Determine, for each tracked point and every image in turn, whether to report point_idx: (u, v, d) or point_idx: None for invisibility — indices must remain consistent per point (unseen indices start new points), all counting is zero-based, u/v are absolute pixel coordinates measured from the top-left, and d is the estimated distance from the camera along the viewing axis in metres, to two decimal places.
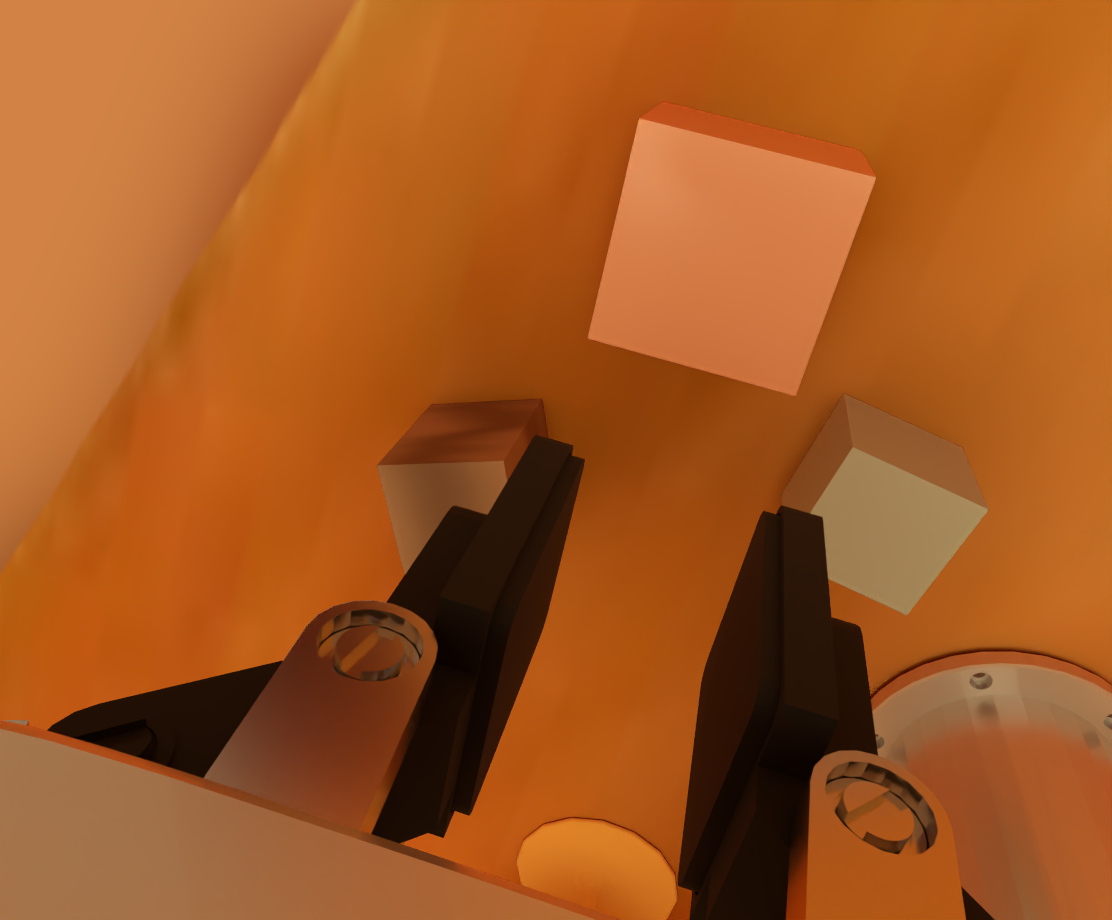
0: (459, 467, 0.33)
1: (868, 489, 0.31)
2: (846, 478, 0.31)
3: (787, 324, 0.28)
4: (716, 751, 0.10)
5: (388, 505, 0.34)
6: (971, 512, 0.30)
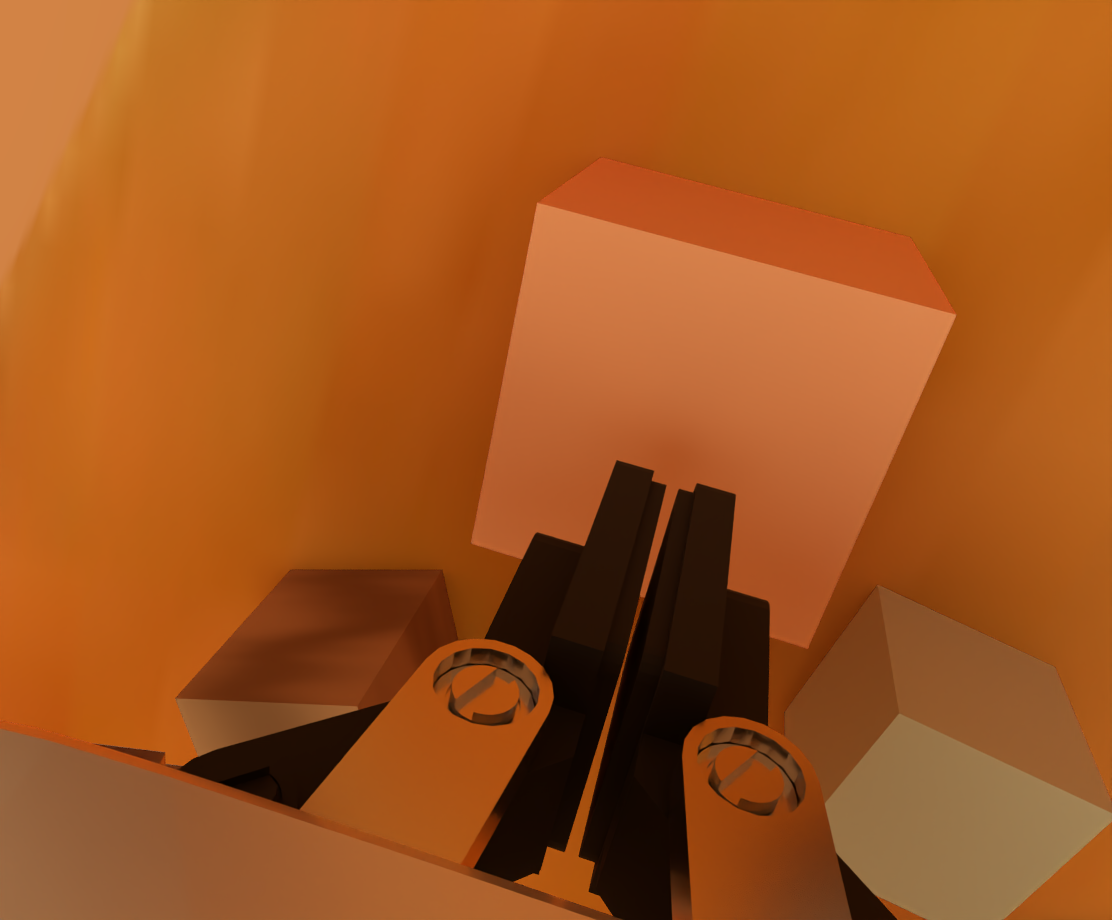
0: (294, 709, 0.21)
1: (922, 774, 0.19)
2: (887, 755, 0.19)
3: (794, 542, 0.16)
4: (616, 723, 0.10)
5: (198, 751, 0.23)
6: (1088, 818, 0.19)
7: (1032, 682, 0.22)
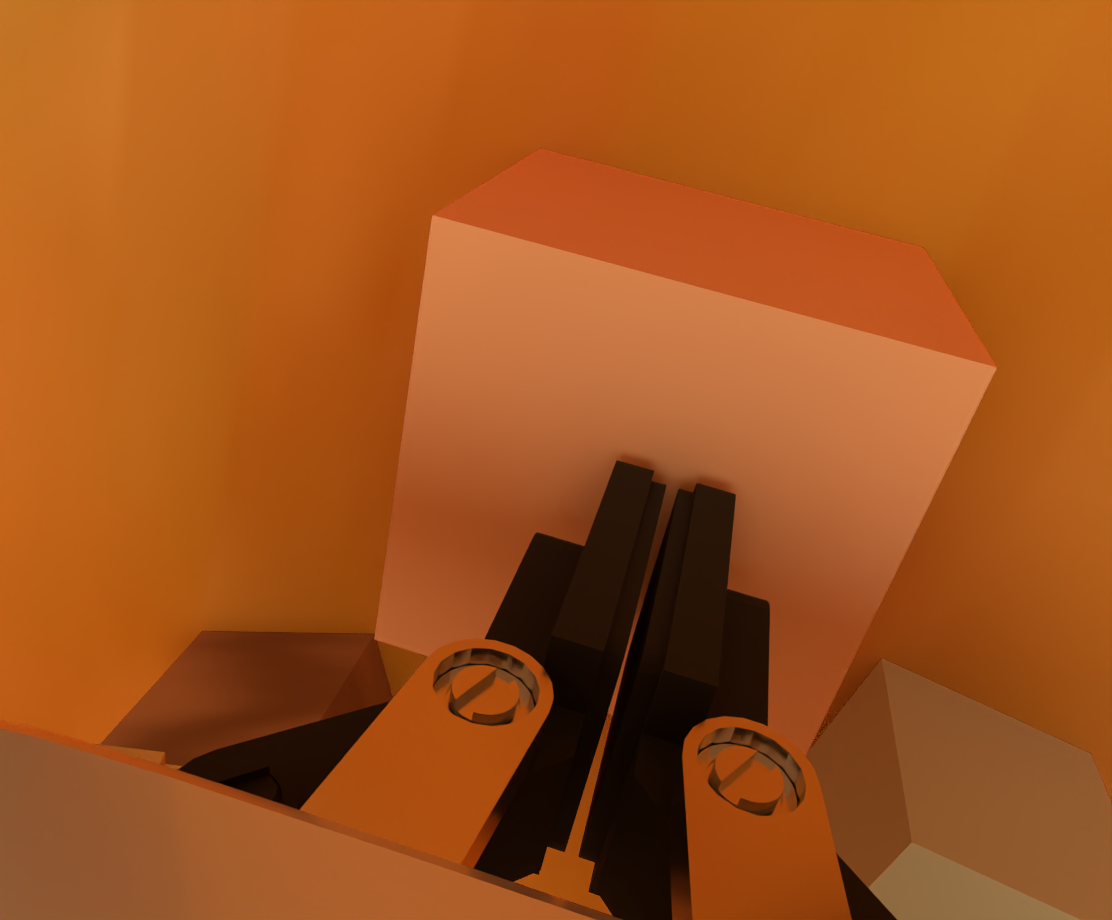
0: None
1: (939, 910, 0.16)
2: (896, 888, 0.16)
3: (780, 647, 0.13)
4: (616, 723, 0.10)
5: None
6: None
7: (1066, 778, 0.18)
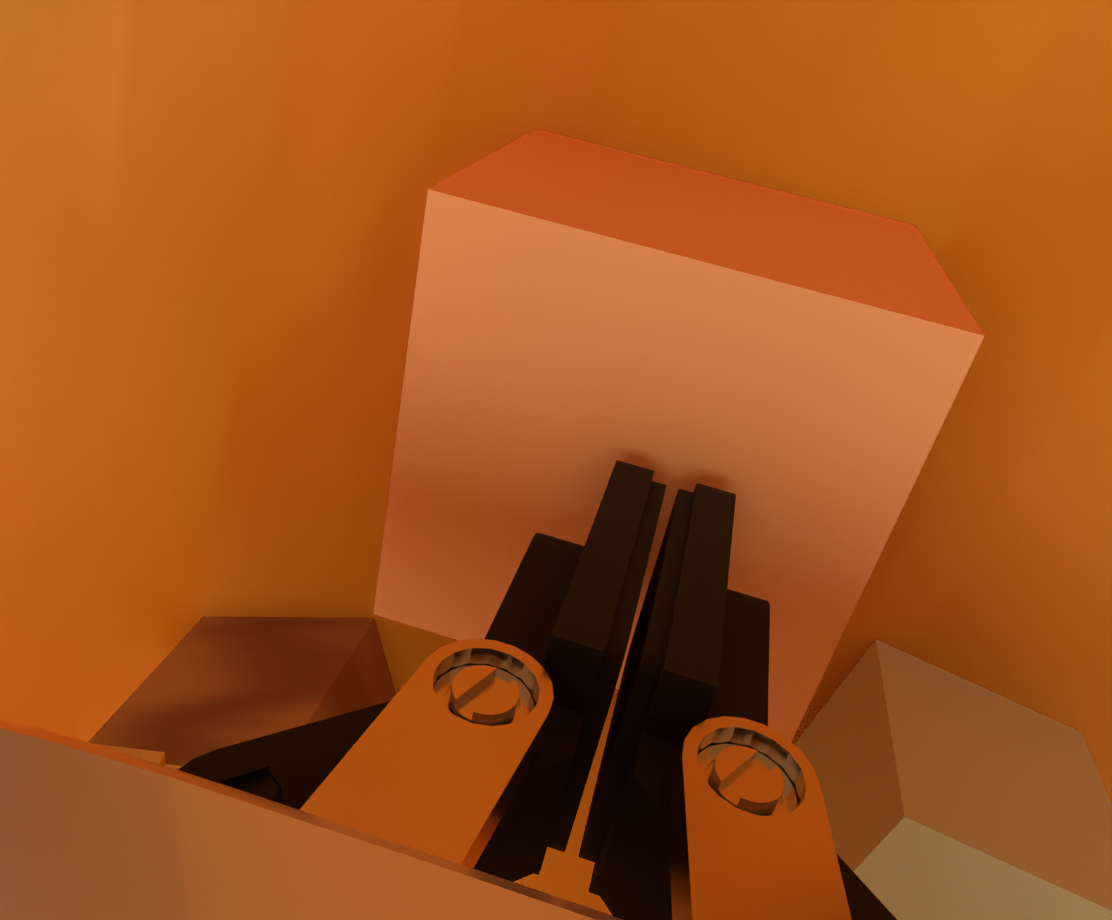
0: None
1: (931, 884, 0.16)
2: (889, 862, 0.16)
3: (773, 617, 0.13)
4: (616, 723, 0.10)
5: None
6: None
7: (1057, 756, 0.19)
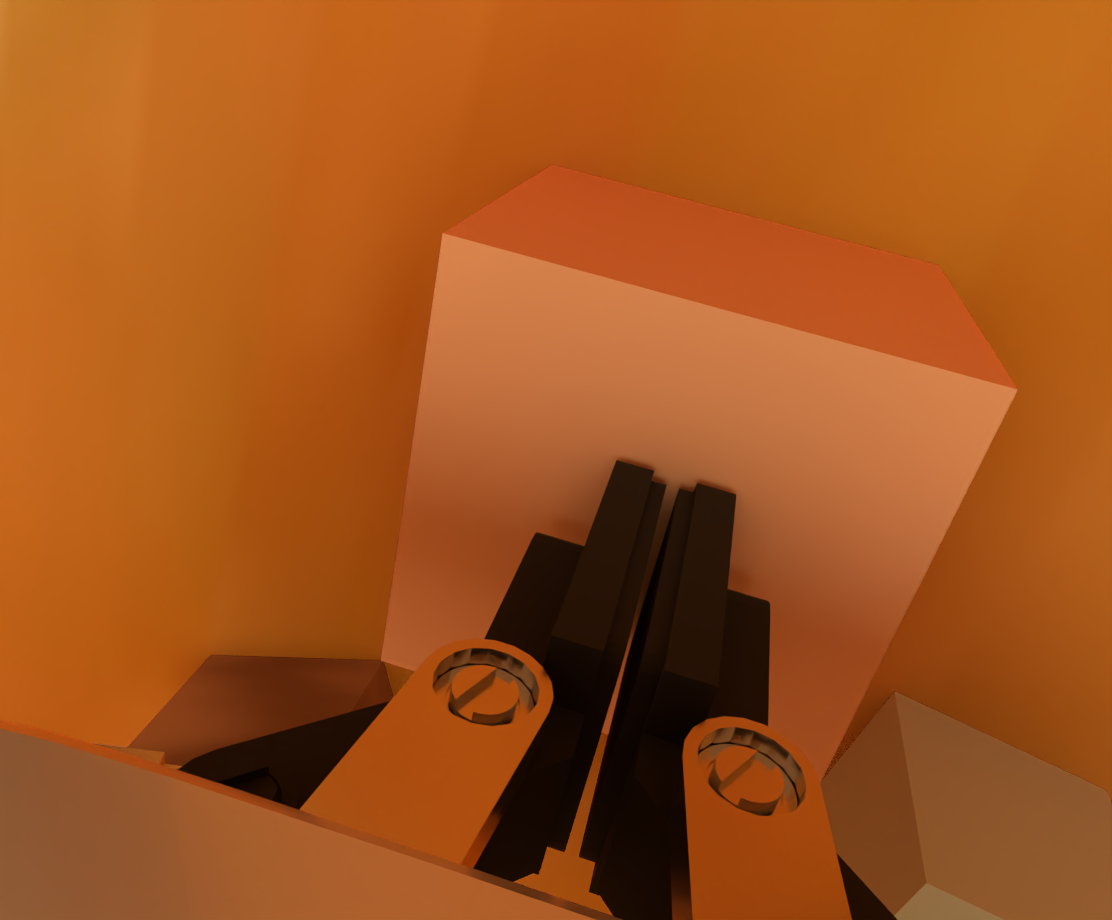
0: None
1: None
2: None
3: (793, 673, 0.13)
4: (616, 723, 0.10)
5: None
6: None
7: (1082, 815, 0.18)
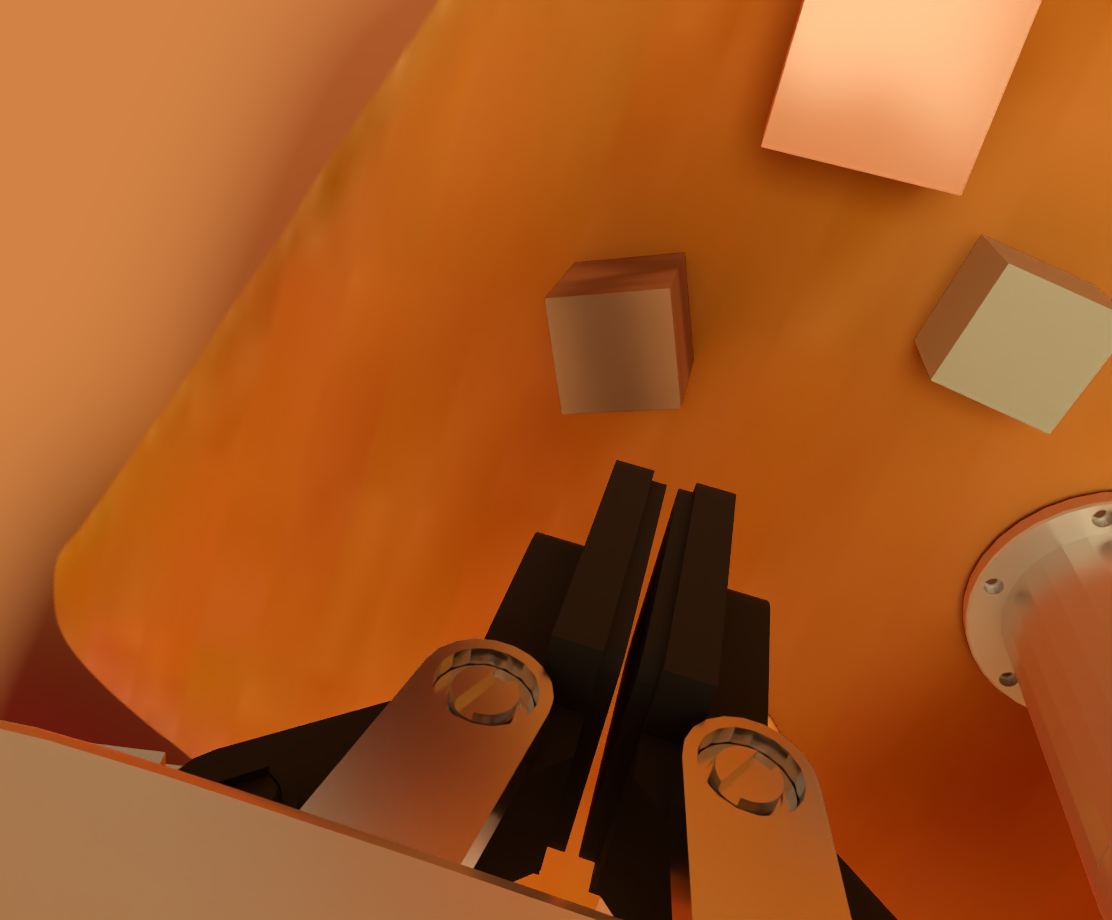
0: (626, 296, 0.35)
1: (1020, 306, 0.33)
2: (999, 295, 0.33)
3: (958, 121, 0.29)
4: (616, 723, 0.10)
5: (552, 339, 0.36)
6: None
7: (1081, 283, 0.35)
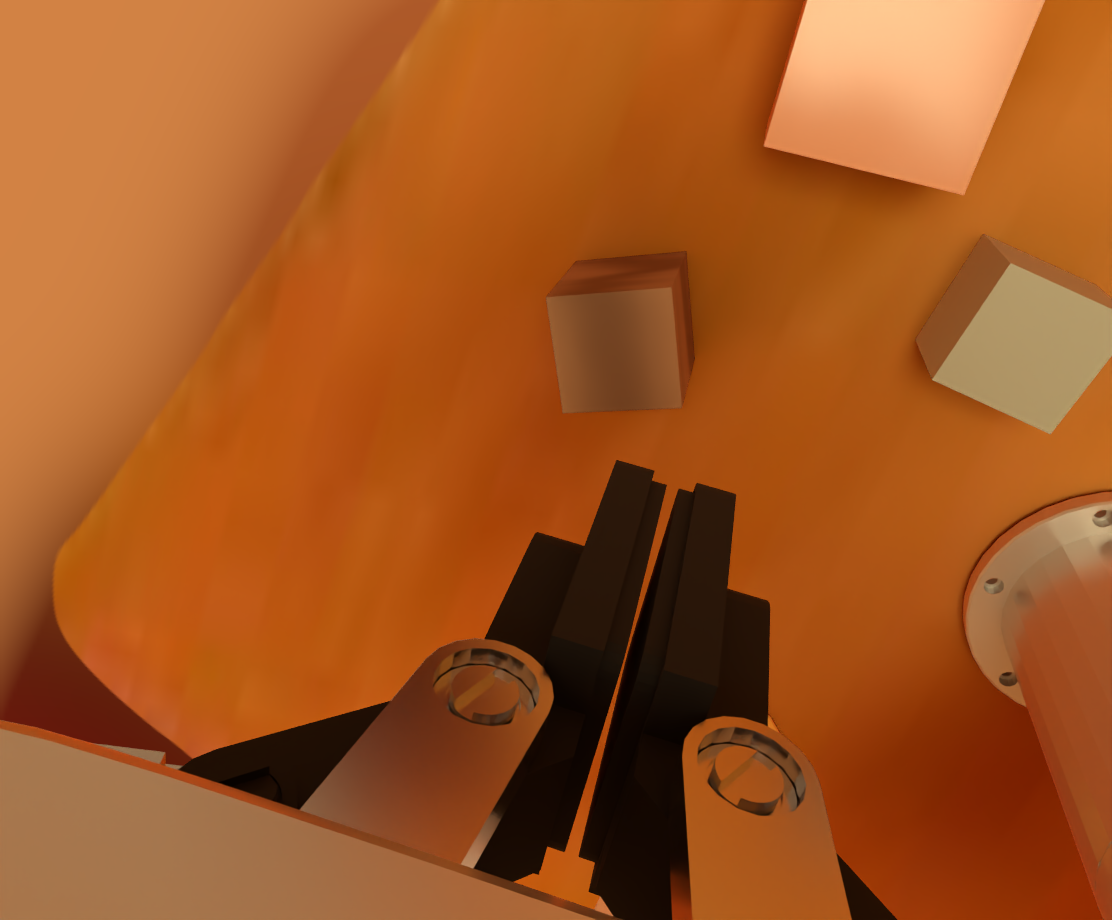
0: (627, 295, 0.35)
1: (1022, 306, 0.33)
2: (1001, 295, 0.32)
3: (961, 121, 0.29)
4: (616, 723, 0.10)
5: (553, 338, 0.36)
6: None
7: (1083, 283, 0.35)
